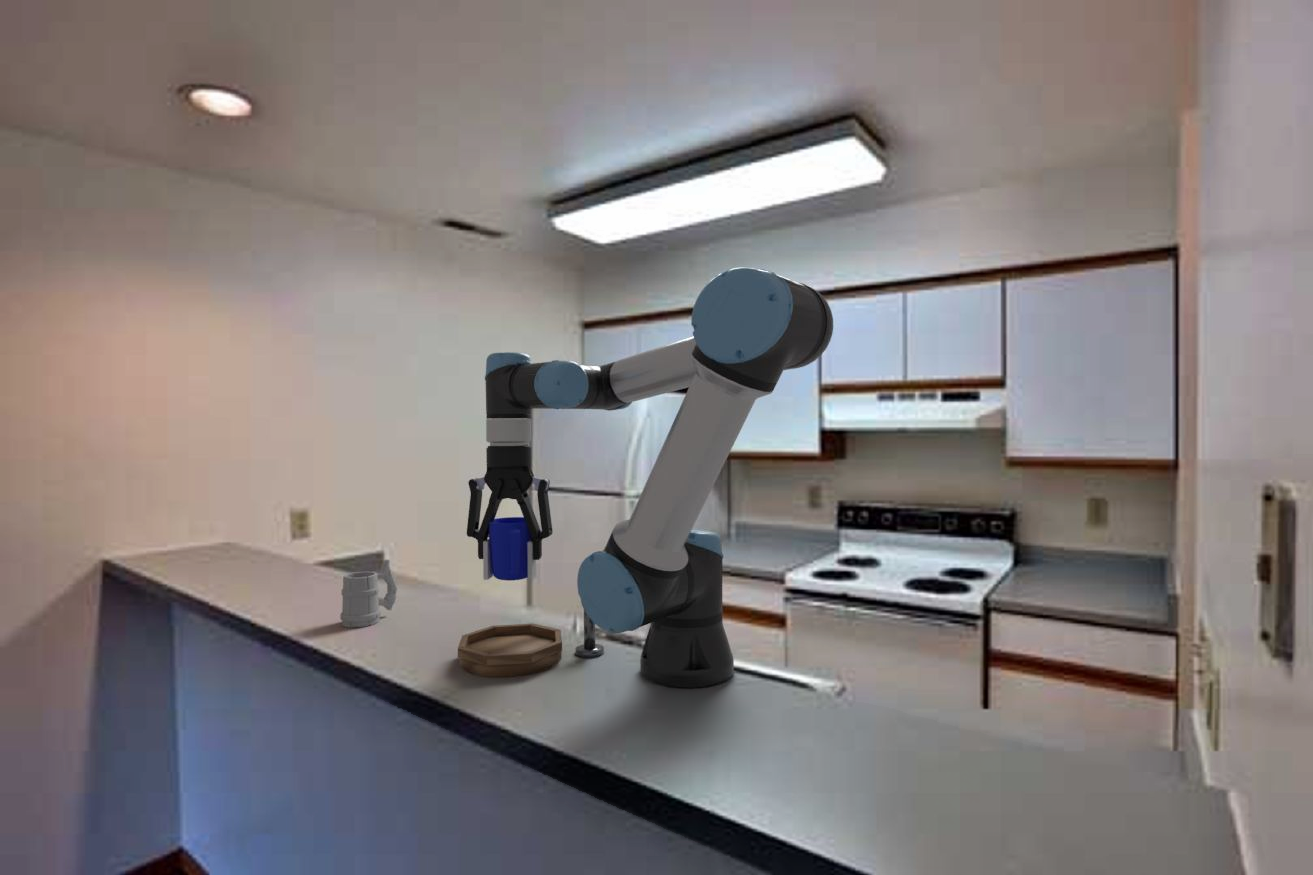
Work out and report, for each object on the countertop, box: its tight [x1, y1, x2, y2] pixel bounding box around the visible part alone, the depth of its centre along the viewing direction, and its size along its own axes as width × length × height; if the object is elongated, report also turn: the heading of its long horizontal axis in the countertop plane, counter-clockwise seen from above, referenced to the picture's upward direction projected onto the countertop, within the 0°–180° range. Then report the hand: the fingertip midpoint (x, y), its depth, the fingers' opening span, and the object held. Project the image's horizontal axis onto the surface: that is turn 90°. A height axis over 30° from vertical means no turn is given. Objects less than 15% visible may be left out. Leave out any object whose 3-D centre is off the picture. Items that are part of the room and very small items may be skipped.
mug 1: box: [339, 559, 398, 629], centre depth 142 cm, size 8×12×12 cm, turn 143°
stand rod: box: [574, 609, 605, 658], centre depth 121 cm, size 5×5×8 cm
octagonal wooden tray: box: [457, 623, 563, 678], centre depth 118 cm, size 17×17×4 cm
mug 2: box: [488, 516, 532, 581], centre depth 118 cm, size 8×12×10 cm
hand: (510, 578), depth 118 cm, fingers closed on mug 2, 7 cm apart
